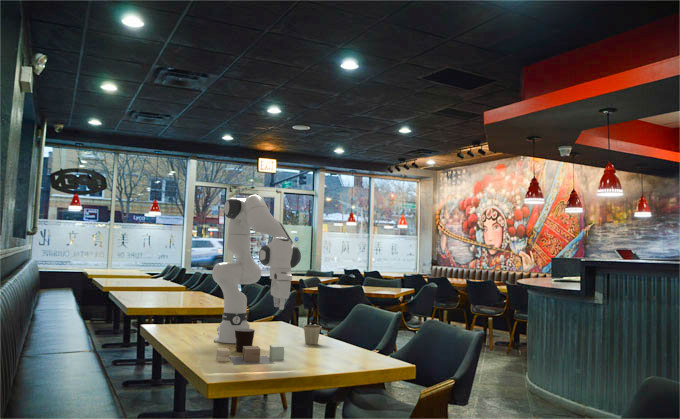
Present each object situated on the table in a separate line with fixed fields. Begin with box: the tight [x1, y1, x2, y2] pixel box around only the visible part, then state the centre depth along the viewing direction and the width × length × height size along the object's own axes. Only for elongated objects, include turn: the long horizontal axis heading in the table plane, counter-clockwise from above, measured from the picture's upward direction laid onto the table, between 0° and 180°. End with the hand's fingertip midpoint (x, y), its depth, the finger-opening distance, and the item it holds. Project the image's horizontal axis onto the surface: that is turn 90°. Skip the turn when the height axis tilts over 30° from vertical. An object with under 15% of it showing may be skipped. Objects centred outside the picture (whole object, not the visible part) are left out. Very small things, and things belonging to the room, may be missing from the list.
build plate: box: [229, 355, 275, 366], centre depth 213 cm, size 16×16×1 cm
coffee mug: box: [235, 328, 256, 354], centre depth 234 cm, size 12×9×10 cm
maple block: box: [216, 347, 231, 362], centre depth 212 cm, size 4×4×5 cm
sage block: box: [268, 344, 285, 361], centre depth 219 cm, size 5×5×6 cm
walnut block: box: [242, 345, 261, 362], centre depth 213 cm, size 6×6×5 cm
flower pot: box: [302, 324, 322, 346], centre depth 262 cm, size 9×9×9 cm
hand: (278, 308), depth 220 cm, fingers open, 8 cm apart
